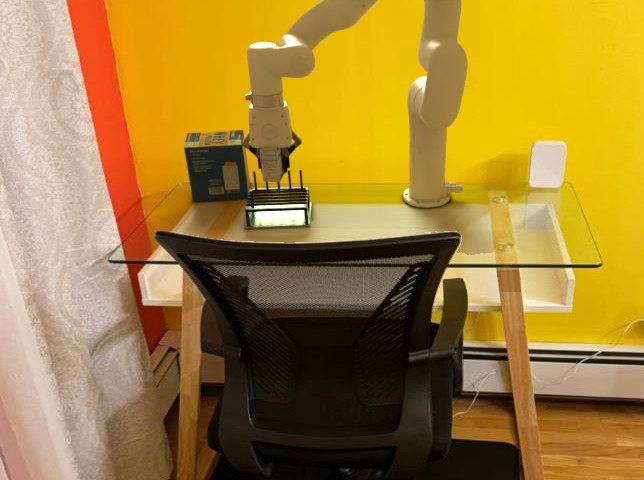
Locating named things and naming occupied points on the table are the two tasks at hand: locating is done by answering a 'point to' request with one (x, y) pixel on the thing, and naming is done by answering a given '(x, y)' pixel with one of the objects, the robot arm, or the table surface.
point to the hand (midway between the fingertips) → (274, 170)
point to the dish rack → (278, 206)
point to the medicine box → (272, 164)
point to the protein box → (217, 165)
